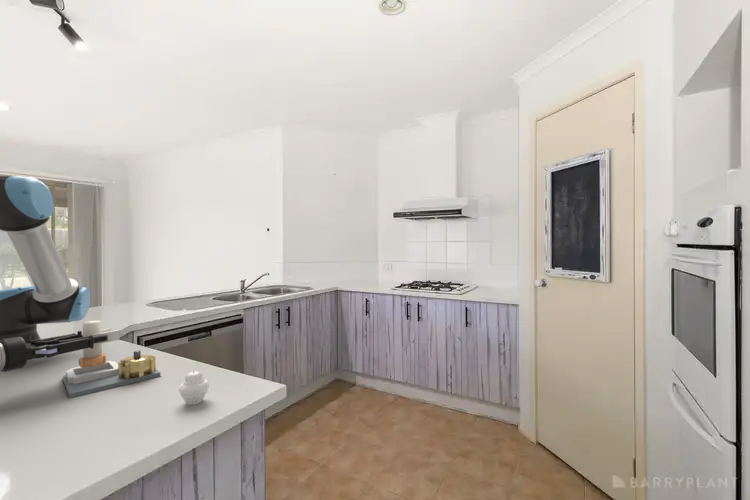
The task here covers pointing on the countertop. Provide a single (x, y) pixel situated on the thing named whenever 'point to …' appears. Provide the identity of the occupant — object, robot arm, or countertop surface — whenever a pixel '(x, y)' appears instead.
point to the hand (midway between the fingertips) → (114, 333)
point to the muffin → (194, 388)
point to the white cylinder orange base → (95, 354)
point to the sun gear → (136, 365)
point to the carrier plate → (97, 378)
